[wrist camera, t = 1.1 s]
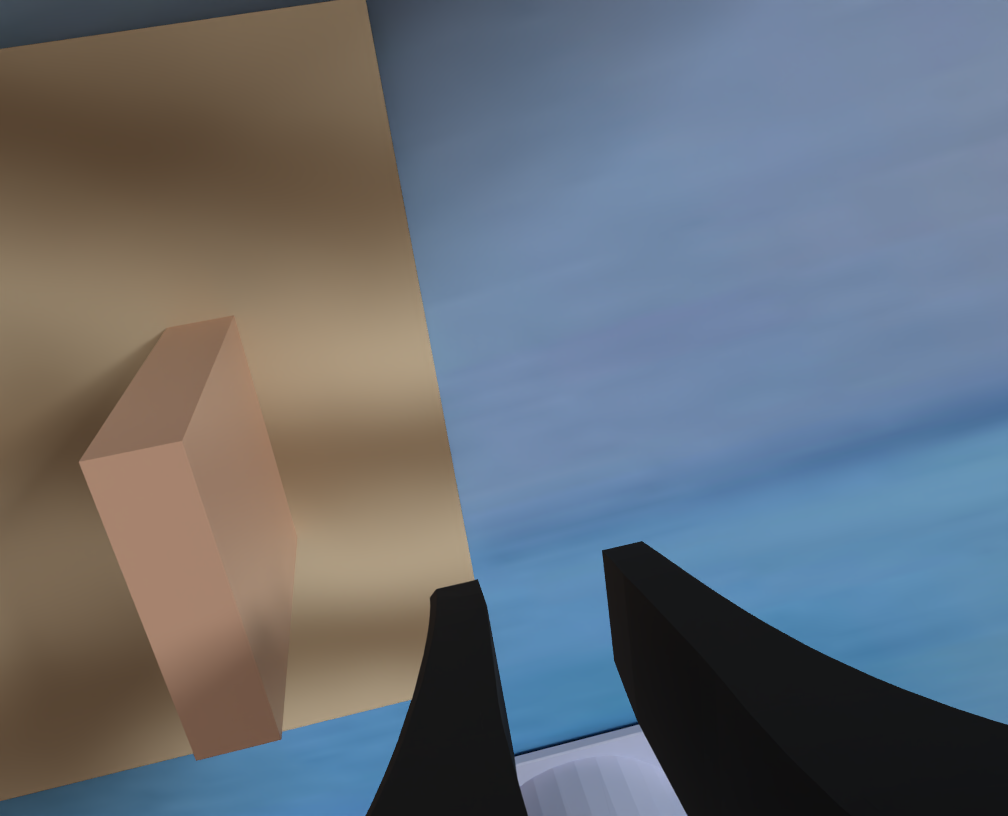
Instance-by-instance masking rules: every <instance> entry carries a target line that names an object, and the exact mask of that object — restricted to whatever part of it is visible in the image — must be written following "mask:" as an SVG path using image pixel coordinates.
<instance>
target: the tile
mask: <svg viewBox="0 0 1008 816" xmlns="http://www.w3.org/2000/svg"><path fill="white" fill-rule="evenodd" d="M79 464H80V467H81V469H82V472H83V474H84V477H85V479H86V482H87V484H88V487H89V489H90V492H91V495H92V497H93V500H94V502H95V505H96V507H97V510H98V512H99V515H100V517H101V520H102V522H103V525H104V528H105V530H106V533H107V535H108V538H109V540H110V543H111V545H112V548H113V550H114V553H115V556H116V558H117V561H118V563H119V566H120V568H121V571H122V573H123V576H124V578H125V581H126V583H127V586H128V589H129V591H130V594H131V596H132V599H133V601H134V604H135V606H136V609H137V611H138V614H139V616H140V619H141V622H142V624H143V627H144V629H145V632H146V634H147V637H148V639H149V642H150V644H151V647H152V650H153V652H154V655H155V657H156V660H157V662H158V665H159V667H160V670H161V672H162V675H163V677H164V680H165V683H166V685H167V688H168V690H169V693H170V695H171V698H172V700H173V703H174V705H175V708H176V710H177V713H178V716H179V718H180V721H181V723H182V726H183V728H184V731H185V733H186V736H187V738H188V741H189V744H190V746H191V749H192V751H193V754H194V756H195V759H196V761H197V760H201V759H205V758H209V757H213V756H217V755H221V754H225V753H229V752H233V751H237V750H241V749H245V748H249V747H253V746H257V745H261V744H265V743H269V742H273V741H277V740H281V739H282V726H283V714H284V701H285V689H286V676H287V664H288V651H289V639H290V626H291V614H292V601H293V589H294V576H295V564H296V551H297V539H298V538H297V534H296V531H295V527H294V524H293V520H292V517H291V513H290V510H289V506H288V503H287V499H286V496H285V492H284V489H283V485H282V482H281V478H280V475H279V471H278V467H277V464H276V460H275V457H274V453H273V450H272V446H271V443H270V439H269V436H268V432H267V429H266V425H265V422H264V418H263V415H262V411H261V408H260V404H259V401H258V397H257V394H256V390H255V387H254V383H253V380H252V376H251V373H250V369H249V366H248V362H247V359H246V355H245V352H244V348H243V345H242V341H241V338H240V334H239V331H238V327H237V324H236V320H235V317H234V315H232V316H227V317H222V318H216V319H211V320H206V321H200V322H195V323H190V324H184V325H179V326H173V327H168V328H166V330H165V331H164V333H163V334H162V336H161V337H160V339H159V340H158V342H157V343H156V345H155V346H154V348H153V349H152V351H151V352H150V354H149V356H148V357H147V359H146V360H145V362H144V363H143V365H142V366H141V368H140V369H139V371H138V372H137V374H136V375H135V377H134V378H133V380H132V381H131V383H130V384H129V386H128V388H127V389H126V391H125V392H124V394H123V395H122V397H121V398H120V400H119V401H118V403H117V404H116V406H115V407H114V409H113V410H112V412H111V413H110V415H109V416H108V418H107V420H106V421H105V423H104V424H103V426H102V427H101V429H100V430H99V432H98V433H97V435H96V436H95V438H94V439H93V441H92V442H91V444H90V445H89V447H88V448H87V450H86V452H85V453H84V455H83V456H82V458H81V459H80V461H79Z"/></svg>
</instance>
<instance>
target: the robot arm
mask: <svg viewBox="0 0 1008 816" xmlns="http://www.w3.org/2000/svg"><path fill="white" fill-rule="evenodd" d="M602 554H603V563H604V572H605V581H606V590H607V599H608V608H609V618H610V627H611V636H612V645H613V654H614V661H615V664H616V667H617V669H618V672H619V675H620V677H621V680H622V683H623V685H624V688H625V691H626V693H627V696H628V698H629V701H630V704H631V706H632V709H633V711H634V714H635V716H636V719H637V721H638V723H639V725H635V726H631V727H627V728H624V729H620V730H616V731H612V732H608V733H604V734H600V735H597V736H593V737H589V738H585V739H581V740H577V741H573V742H570V743H566V744H562V745H558V746H554V747H550V748H546V749H543V750H539V751H535V752H531V753H527V754H523V755H519V756H516V757H514V752H513V746H512V741H511V735H510V730H509V724H508V719H507V713H506V708H505V702H504V697H503V692H502V686H501V681H500V675H499V670H498V664H497V659H496V653H495V648H494V642H493V637H492V631H491V626H490V621H489V615H488V610H487V605H486V602H485V599H484V596H483V593H482V590H481V587H480V585H479V582H478V579H477V580H473V581H469V582H464V583H460V584H456V585H451V586H447V587H443V588H438V589H436V590H435V591H434V593H433V594H432V595H431V596H430V617H429V626H428V633H427V638H426V644H425V649H424V654H423V658H422V662H421V666H420V670H419V674H418V678H417V682H416V686H415V690H414V693H413V697H412V700H411V703H410V706H409V709H408V712H407V715H406V718H405V721H404V724H403V727H402V730H401V733H400V736H399V739H398V742H397V744H396V747H395V750H394V752H393V755H392V757H391V760H390V762H389V765H388V767H387V770H386V772H385V775H384V777H383V779H382V781H381V784H380V786H379V788H378V790H377V793H376V795H375V797H374V799H373V802H372V804H371V806H370V808H369V810H368V812H367V814H366V816H1008V725H1007V724H1003V723H1000V722H996V721H993V720H990V719H987V718H984V717H981V716H977V715H974V714H971V713H968V712H965V711H962V710H959V709H956V708H953V707H950V706H948V705H945V704H942V703H940V702H937V701H934V700H931V699H929V698H926V697H923V696H921V695H918V694H915V693H913V692H910V691H907V690H904V689H902V688H899V687H897V686H894V685H892V684H889V683H887V682H885V681H882V680H880V679H877V678H875V677H873V676H870V675H868V674H866V673H864V672H862V671H859V670H857V669H855V668H853V667H851V666H848V665H846V664H844V663H842V662H840V661H838V660H835V659H833V658H831V657H829V656H827V655H825V654H823V653H821V652H819V651H817V650H815V649H813V648H811V647H809V646H807V645H805V644H803V643H801V642H799V641H797V640H796V639H794V638H792V637H790V636H788V635H787V634H785V633H783V632H781V631H779V630H778V629H776V628H774V627H772V626H770V625H768V624H767V623H765V622H763V621H762V620H760V619H758V618H757V617H755V616H753V615H751V614H750V613H748V612H746V611H745V610H743V609H742V608H740V607H739V606H737V605H735V604H734V603H732V602H731V601H729V600H728V599H726V598H724V597H723V596H721V595H720V594H718V593H717V592H715V591H714V590H712V589H711V588H709V587H708V586H706V585H705V584H703V583H702V582H700V581H699V580H697V579H696V578H694V577H693V576H691V575H690V574H689V573H687V572H686V571H684V570H683V569H681V568H680V567H678V566H677V565H676V564H674V563H673V562H671V561H670V560H668V559H667V558H666V557H664V556H663V555H661V554H660V553H658V552H657V551H655V550H654V549H653V548H651V547H650V546H648V545H647V544H645V543H644V542H642V541H641V542H637V543H632V544H628V545H624V546H619V547H615V548H611V549H607V550H602Z"/></svg>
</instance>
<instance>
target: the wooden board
mask: <svg viewBox="0 0 1008 816" xmlns="http://www.w3.org/2000/svg"><path fill="white" fill-rule="evenodd" d="M232 315H234V317H235V320H236V324H237V327H238V331H239V334H240V338H241V341H242V345H243V348H244V352H245V355H246V359H247V362H248V366H249V369H250V373H251V376H252V380H253V383H254V387H255V390H256V394H257V397H258V401H259V404H260V408H261V411H262V415H263V418H264V422H265V425H266V429H267V432H268V436H269V439H270V443H271V446H272V450H273V453H274V457H275V460H276V464H277V467H278V471H279V475H280V478H281V482H282V485H283V489H284V492H285V496H286V499H287V503H288V506H289V510H290V513H291V517H292V520H293V524H294V527H295V531H296V534H297V538H298V539H297V551H296V564H295V576H294V589H293V601H292V614H291V626H290V639H289V651H288V664H287V676H286V689H285V701H284V714H283V726H282V731H286V730H290V729H294V728H298V727H302V726H306V725H310V724H315V723H319V722H323V721H327V720H331V719H335V718H339V717H343V716H347V715H351V714H355V713H359V712H363V711H367V710H371V709H375V708H379V707H383V706H387V705H391V704H395V703H399V702H404V701H408V700H412V697H413V693H414V690H415V686H416V682H417V678H418V674H419V670H420V666H421V662H422V658H423V654H424V649H425V644H426V638H427V633H428V626H429V617H430V596H431V595H432V594H433V593H434V591H435V590H436V589H438V588H443V587H447V586H451V585H456V584H460V583H464V582H469V581H473V580H474V575H473V569H472V564H471V559H470V553H469V548H468V543H467V537H466V532H465V527H464V521H463V516H462V511H461V505H460V500H459V495H458V489H457V484H456V479H455V473H454V468H453V463H452V457H451V452H450V447H449V442H448V436H447V431H446V426H445V420H444V415H443V410H442V404H441V399H440V394H439V388H438V383H437V378H436V372H435V367H434V362H433V356H432V351H431V346H430V340H429V335H428V330H427V324H426V319H425V314H424V308H423V303H422V298H421V292H420V287H419V282H418V276H417V271H416V266H415V260H414V255H413V250H412V244H411V239H410V234H409V228H408V223H407V218H406V212H405V207H404V202H403V196H402V191H401V186H400V180H399V175H398V170H397V164H396V159H395V154H394V148H393V143H392V138H391V132H390V127H389V122H388V117H387V111H386V106H385V101H384V95H383V90H382V85H381V79H380V74H379V69H378V63H377V58H376V53H375V47H374V42H373V37H372V31H371V26H370V21H369V15H368V10H367V5H366V0H335V1H329V2H322V3H315V4H308V5H301V6H294V7H287V8H280V9H273V10H266V11H259V12H252V13H246V14H239V15H232V16H225V17H218V18H211V19H204V20H197V21H190V22H183V23H176V24H169V25H162V26H156V27H149V28H142V29H135V30H128V31H121V32H114V33H107V34H100V35H93V36H86V37H79V38H72V39H66V40H59V41H52V42H45V43H38V44H31V45H24V46H17V47H10V48H3V49H0V801H3V800H7V799H11V798H15V797H19V796H23V795H27V794H31V793H35V792H39V791H43V790H47V789H51V788H56V787H60V786H64V785H68V784H72V783H76V782H80V781H84V780H88V779H92V778H96V777H100V776H104V775H108V774H112V773H116V772H120V771H124V770H128V769H132V768H136V767H141V766H145V765H149V764H153V763H157V762H161V761H165V760H169V759H173V758H177V757H181V756H185V755H189V754H193V751H192V749H191V746H190V744H189V741H188V738H187V736H186V733H185V731H184V728H183V726H182V723H181V721H180V718H179V716H178V713H177V710H176V708H175V705H174V703H173V700H172V698H171V695H170V693H169V690H168V688H167V685H166V683H165V680H164V677H163V675H162V672H161V670H160V667H159V665H158V662H157V660H156V657H155V655H154V652H153V650H152V647H151V644H150V642H149V639H148V637H147V634H146V632H145V629H144V627H143V624H142V622H141V619H140V616H139V614H138V611H137V609H136V606H135V604H134V601H133V599H132V596H131V594H130V591H129V589H128V586H127V583H126V581H125V578H124V576H123V573H122V571H121V568H120V566H119V563H118V561H117V558H116V556H115V553H114V550H113V548H112V545H111V543H110V540H109V538H108V535H107V533H106V530H105V528H104V525H103V522H102V520H101V517H100V515H99V512H98V510H97V507H96V505H95V502H94V500H93V497H92V495H91V492H90V489H89V487H88V484H87V482H86V479H85V477H84V474H83V472H82V469H81V467H80V464H79V461H80V459H81V458H82V456H83V455H84V453H85V452H86V450H87V448H88V447H89V445H90V444H91V442H92V441H93V439H94V438H95V436H96V435H97V433H98V432H99V430H100V429H101V427H102V426H103V424H104V423H105V421H106V420H107V418H108V416H109V415H110V413H111V412H112V410H113V409H114V407H115V406H116V404H117V403H118V401H119V400H120V398H121V397H122V395H123V394H124V392H125V391H126V389H127V388H128V386H129V384H130V383H131V381H132V380H133V378H134V377H135V375H136V374H137V372H138V371H139V369H140V368H141V366H142V365H143V363H144V362H145V360H146V359H147V357H148V356H149V354H150V352H151V351H152V349H153V348H154V346H155V345H156V343H157V342H158V340H159V339H160V337H161V336H162V334H163V333H164V331H165V330H166V328H168V327H173V326H179V325H184V324H190V323H195V322H200V321H206V320H211V319H216V318H222V317H227V316H232Z"/></svg>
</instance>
